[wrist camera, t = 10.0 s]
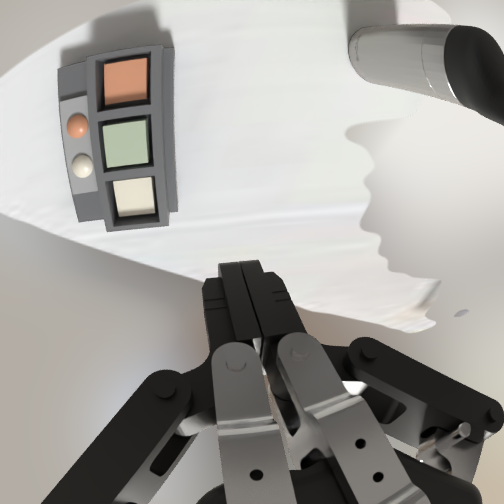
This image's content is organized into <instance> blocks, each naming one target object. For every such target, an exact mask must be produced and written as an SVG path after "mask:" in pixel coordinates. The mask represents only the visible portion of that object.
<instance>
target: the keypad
mask: <svg viewBox="0 0 504 504" xmlns="http://www.w3.org/2000/svg"><path fill="white" fill-rule="evenodd" d="M143 58H148V59H149V98H147V99H141V100H133V101H126V102H119V103H113V104H107V105H105V88H104V65H106V64H111V63H116V62H122V61H128V60H135V59H143ZM174 59H175V49H174V48H163V46H162V45H152V46H143V47H136V48H129V49H123V50H117V51H112V52H107V53H102V54H97V55H93V56H88V57H87V60H86V61H84V62H80V63H76V64H72V65H69V66H65V67H62V68H59V69H58V98H59V112H60V123H61V132H62V140H63V148H64V154H65V161H66V167H67V172H68V177H69V183H70V187H71V192H72V197H73V201H74V205H75V210H76V214H77V217H78V221H79V222H85V221H93V220H101V219H104V222H105V226H106V231H107V232H112V231H121V230H131V229H141V228H152V227H162V226H169V214H170V212H178V195H177V180H176V161H175V135H174ZM142 118H148V133H149V150H150V159H149V161H148V163H140V164H132V165H124V166H116V167H109V168H107V162H106V154H105V145H104V135H103V126H104V125H106V124H107V123H113V122H120V121H127V120H134V119H142ZM145 176H153V179H154V189H155V198H156V211H155V213H150V214H140V215H131V216H121V217H119V214H118V208H117V203H116V197H115V191H114V185H113V181H114V180H119V179H127V178H136V177H145Z"/></svg>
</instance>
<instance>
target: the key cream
mask: <svg viewBox="0 0 504 504" xmlns="http://www.w3.org/2000/svg"><path fill="white" fill-rule="evenodd" d="M113 185H114V191H115V197H116V203H117V208H118V214H119V217H121V216H131V215H140V214H150V213H155V211H156V198H155V189H154V179H153V176H145V177H136V178H127V179H119V180H114V181H113Z"/></svg>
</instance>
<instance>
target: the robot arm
mask: <svg viewBox="0 0 504 504" xmlns="http://www.w3.org/2000/svg"><path fill="white" fill-rule="evenodd" d="M349 56H350V61H351V63H352V65H353V67H354V69H355V71H356V72H357V73H358V74H359V75H360V77H362V78H363V79H364V80H366V81H368V82H370V83H373V84H378V85H384V86H389V87H393V88H398V89H403V90H407V91H412V92H416V93H420V94H424V95H428V96H432V97H435V98H439V99H442V100H445V101H449V102H452V103H456V104H458V105H461V106H464V107H467V108H469V109H472V110H475V111H477V112H478V113H479V114H481V115H483V116H484V117H486V118H488V119H490V120H493V121H495V122H497V123H499V124H501V125H503V126H504V54H503V52H502V50H501V48H500V47H499V45H498V43H497V42H496V41H495V40H494V38H493V37H492V36H491V35H490V34H489V33H487V32H486V31H484V30H482V29H480V28H477V27H472V26H461V25H449V24H401V25H386V26H375V27H366V28H362V29H360V30H358V31H357V32H355V34H354V35H353V36H352V38H351V40H350V44H349ZM202 296H203V306H204V317H205V324H206V331H207V336H208V343H209V350H210V353H209V356H208V358H207V359H206V360H205V362H204V363H203V364H202V365H200V366H199V367H197V368H195V369H193V370H191V371H188V372H186V373H183V374H180V373H179V372H176V371H173V370H159V371H156V372H154V373H152V374H151V375H149V376H148V377H147V378H146V379H145V380H144V382H143V383H142V384H141V385H140V386H139V388H138V389H137V390H136V391H135V392H134V393H133V395H132V396H131V397H130V398H129V399H128V401H127V402H126V403H125V404H124V405H123V407H122V408H121V409H120V410H119V411H118V413H117V414H116V415H115V416H114V417H113V418H112V420H111V421H110V422H109V423H108V425H107V426H106V427H105V428H104V429H103V431H102V432H101V433H100V434H99V435H98V436H97V437H96V439H95V440H94V441H93V442H92V444H91V445H90V446H89V447H88V448H87V449H86V451H85V452H84V453H83V454H82V455H81V457H80V458H79V459H78V460H77V461H76V463H75V464H74V465H73V466H72V467H71V468H70V470H69V471H68V472H67V473H66V474H65V476H64V477H63V478H62V479H61V480H60V481H59V483H58V484H57V485H56V486H55V488H54V489H53V490H52V491H51V492H50V494H49V495H48V496H47V497H46V498H45V499H44V500H43V502H42V503H41V504H148V503H149V502H150V501H151V499H152V498H153V496H154V495H155V494H156V493H157V491H158V490H159V489H160V487H161V486H162V485H163V483H164V481H165V480H166V479H167V478H168V476H169V475H170V473H171V472H172V471H173V469H174V468H175V467H176V465H177V464H178V462H179V461H180V459H181V458H182V457H183V455H184V454H185V452H186V451H187V449H188V448H189V447H190V445H191V444H192V442H193V441H194V439H195V438H196V436H197V435H198V433H199V432H200V431H202V430H205V429H207V428H209V427H211V426H213V425H215V424H217V431H218V441H219V449H220V458H221V465H222V473H223V480H224V483H223V484H221V485H219V486H217V487H215V488H213V489H212V490H211V491H209V492H207V493H206V494H205V495H204V496H203V497H202V498H201V499H200V500H199V501H198V502H197V503H196V504H482V497H481V494H480V492H479V490H478V489H477V487H476V486H475V485H473V484H472V481H473V478H474V475H475V472H476V468H477V465H478V462H479V458H480V455H481V451H482V447H483V443H484V441H485V440H486V439H487V438H489V437H491V436H492V435H494V434H495V433H497V432H498V431H499V430H500V429H501V428H502V426H503V423H504V411H503V409H502V407H501V405H500V404H499V402H497V401H496V400H494V399H492V398H490V397H488V396H486V395H484V394H482V393H480V392H478V391H476V390H474V389H472V388H470V387H468V386H466V385H463V384H462V383H459V382H457V381H455V380H453V379H451V378H449V377H447V376H445V375H443V374H441V373H440V372H438V371H436V370H433V369H432V368H430V367H428V366H426V365H424V364H422V363H420V362H418V361H416V360H414V359H412V358H410V357H408V356H406V355H404V354H402V353H400V352H399V351H396V350H395V349H393V348H391V347H389V346H387V345H385V344H383V343H381V342H379V341H377V340H375V339H373V338H370V337H360V338H357V339H355V340H354V341H352V343H351V344H350V346H349V347H344V346H343V347H342V346H329V345H324V344H321V343H320V342H319V341H318V340H317V339H316V338H314V337H313V336H311V335H309V334H308V333H307V332H306V330H305V328H304V326H303V323H302V321H301V319H300V317H299V315H298V312H297V310H296V308H295V306H294V304H293V302H292V300H291V297H290V295H289V293H288V292H287V289H286V286H285V284H284V282H283V280H282V279H281V278H280V277H279V276H278V275H276V274H275V273H274V272H265V273H264V271H263V269H262V266H261V264H260V262H259V260H250V261H239V263H238V262H230V263H219V264H218V277H217V278H207V279H206V280H205V283H204V285H203V287H202ZM264 375H267V378H268V381H269V388H268V392H269V396H270V398H271V401H272V403H273V406H274V408H275V411H276V413H277V416H278V418H279V420H280V423H281V425H282V428H283V430H284V432H285V435H286V438H287V442H288V450H289V453H290V457H291V459H292V462H293V464H294V466H295V469H296V470H289V468H288V463H287V459H286V455H285V450H284V446H283V441H282V437H281V433H280V429H279V427H278V424H277V422H276V421H275V420H274V419H273V417H272V413H271V408H270V404H269V399H268V394H267V390H266V385H265V380H264ZM385 434H387V435H389V436H392V437H394V438H396V439H398V440H400V441H402V442H404V443H406V444H408V445H411V446H413V447H415V448H417V449H418V451H417V453H416V459H415V458H412V457H411V456H409V455H407V454H404V453H403V452H401V451H399V450H397V449H395V448H392V446H391V444H390V442H389V441H388V439H387V437H386V435H385Z"/></svg>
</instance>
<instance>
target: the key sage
mask: <svg viewBox="0 0 504 504" xmlns="http://www.w3.org/2000/svg"><path fill="white" fill-rule="evenodd" d="M103 135H104V145H105V154H106V162H107V168H109V167H116V166H124V165H132V164H140V163H148V161H149V159H150V150H149V133H148V118H142V119H134V120H127V121H120V122H113V123H107V124H106V125H104V126H103Z"/></svg>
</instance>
